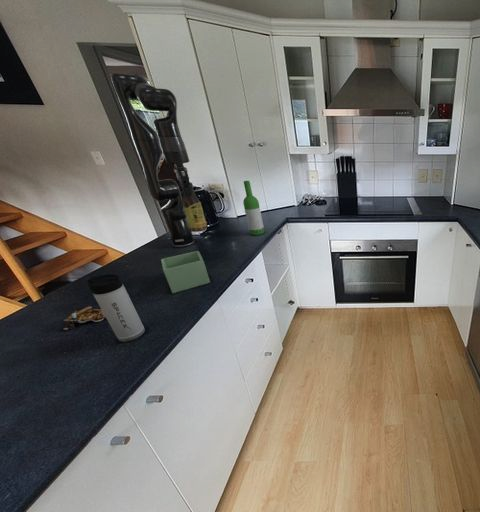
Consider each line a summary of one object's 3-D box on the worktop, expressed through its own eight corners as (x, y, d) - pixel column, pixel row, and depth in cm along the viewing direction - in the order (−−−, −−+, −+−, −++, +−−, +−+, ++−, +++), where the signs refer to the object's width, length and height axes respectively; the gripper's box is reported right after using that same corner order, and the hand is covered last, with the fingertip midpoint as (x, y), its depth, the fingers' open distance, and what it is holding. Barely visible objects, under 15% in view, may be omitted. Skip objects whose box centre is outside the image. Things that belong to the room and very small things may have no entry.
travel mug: (127, 328, 85) (98, 272, 76) (150, 327, 85) (124, 272, 77) (111, 342, 79) (78, 284, 71) (135, 341, 80) (105, 283, 71)
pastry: (115, 317, 90) (110, 308, 88) (63, 331, 83) (57, 322, 82) (118, 306, 95) (113, 298, 93) (69, 319, 88) (63, 310, 87)
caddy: (169, 280, 110) (160, 259, 106) (205, 271, 118) (198, 250, 113) (172, 293, 102) (163, 270, 98) (210, 282, 110) (203, 260, 105)
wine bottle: (258, 236, 154) (246, 183, 140) (247, 235, 156) (235, 181, 143) (267, 232, 160) (257, 180, 147) (256, 230, 162) (246, 179, 149)
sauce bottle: (200, 233, 113) (184, 185, 105) (187, 232, 114) (171, 184, 106) (211, 227, 119) (198, 181, 110) (199, 226, 120) (185, 181, 111)
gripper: (160, 149, 105) (175, 193, 113) (163, 151, 96) (179, 199, 103) (183, 148, 110) (196, 190, 117) (188, 150, 100) (202, 196, 108)
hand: (188, 194), depth 110 cm, fingers closed on sauce bottle, 4 cm apart
